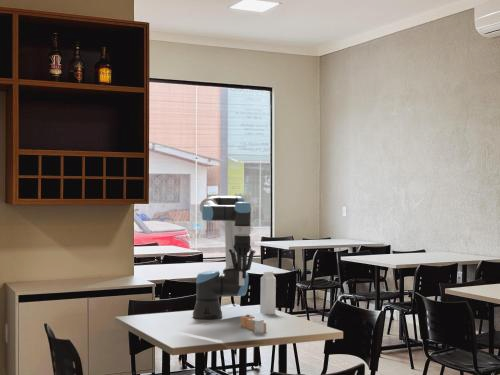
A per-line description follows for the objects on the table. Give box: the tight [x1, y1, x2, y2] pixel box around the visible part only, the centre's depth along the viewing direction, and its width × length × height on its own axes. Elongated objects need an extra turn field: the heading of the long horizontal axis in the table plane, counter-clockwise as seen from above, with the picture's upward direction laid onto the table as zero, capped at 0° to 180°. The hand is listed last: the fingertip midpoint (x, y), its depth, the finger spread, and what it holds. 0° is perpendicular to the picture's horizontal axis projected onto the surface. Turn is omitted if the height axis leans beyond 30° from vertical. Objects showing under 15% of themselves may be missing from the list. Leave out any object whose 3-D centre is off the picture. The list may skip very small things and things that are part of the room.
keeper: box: [251, 317, 265, 335], centre depth 315 cm, size 5×5×6 cm
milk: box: [259, 271, 277, 315], centre depth 370 cm, size 6×6×22 cm
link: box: [240, 314, 267, 333], centre depth 323 cm, size 18×5×4 cm, turn 25°
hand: (241, 285), depth 327 cm, fingers closed
